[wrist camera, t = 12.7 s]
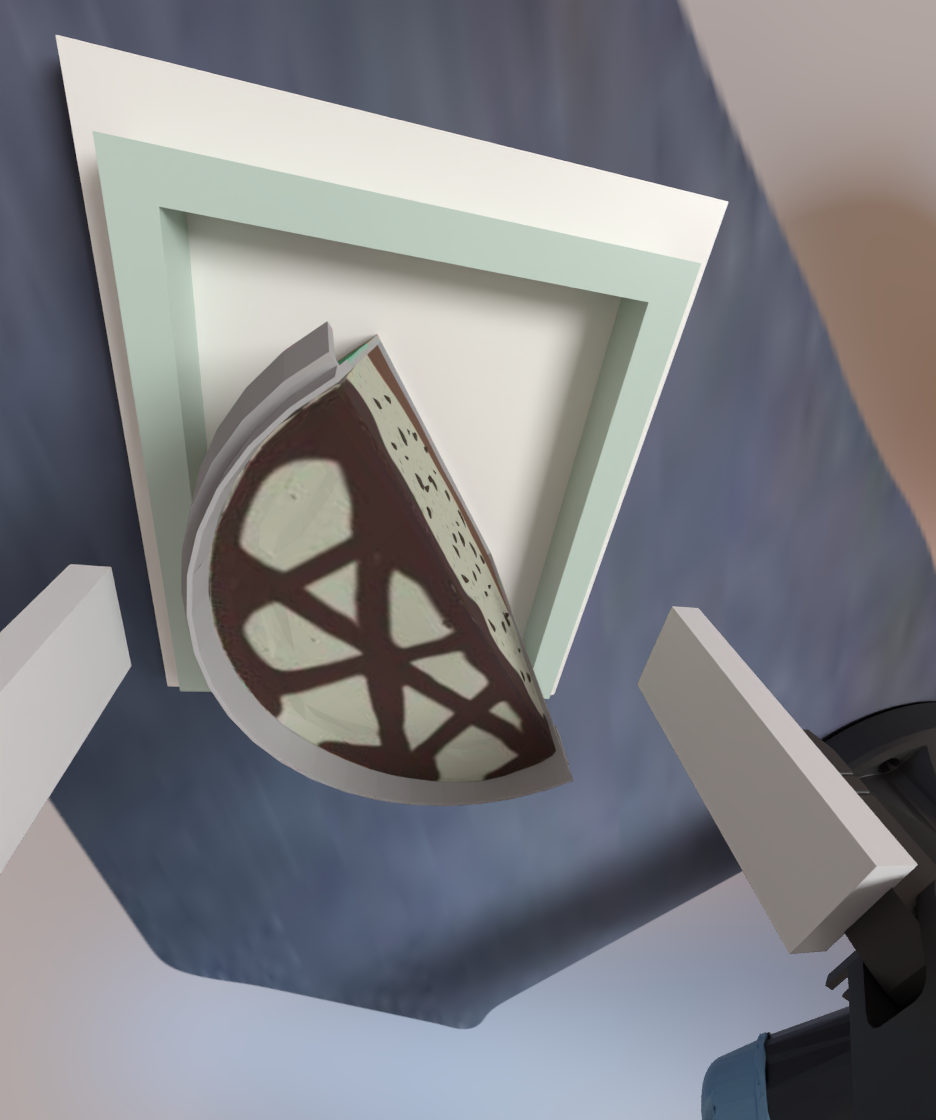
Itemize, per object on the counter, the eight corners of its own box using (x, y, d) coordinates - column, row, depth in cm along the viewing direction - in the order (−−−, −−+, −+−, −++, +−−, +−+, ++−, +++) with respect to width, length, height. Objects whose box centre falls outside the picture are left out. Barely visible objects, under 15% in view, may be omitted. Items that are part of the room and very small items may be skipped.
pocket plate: (707, 203, 17) (769, 197, 14) (547, 677, 27) (565, 725, 25) (81, 50, 13) (2, 1, 10) (176, 667, 24) (150, 722, 21)
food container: (181, 379, 16) (-40, 530, 8) (352, 285, 15) (313, 340, 7) (378, 637, 23) (374, 872, 14) (505, 580, 22) (579, 791, 14)
